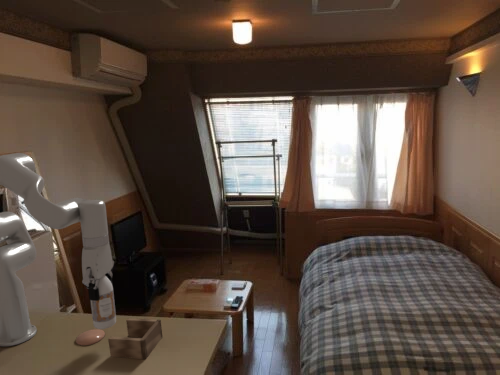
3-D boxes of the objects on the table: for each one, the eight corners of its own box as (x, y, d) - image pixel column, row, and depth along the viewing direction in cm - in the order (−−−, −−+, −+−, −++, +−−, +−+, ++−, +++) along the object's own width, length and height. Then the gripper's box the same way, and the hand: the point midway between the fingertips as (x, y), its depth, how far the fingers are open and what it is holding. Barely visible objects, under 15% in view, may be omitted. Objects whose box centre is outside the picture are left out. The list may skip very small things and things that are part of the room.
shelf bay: (110, 356, 127) (108, 338, 126) (130, 334, 139) (127, 318, 138) (145, 359, 124) (143, 340, 123) (162, 336, 136) (160, 319, 135)
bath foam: (96, 332, 128) (89, 271, 124) (91, 322, 133) (84, 264, 129) (119, 325, 132) (113, 265, 128) (113, 316, 137) (107, 259, 133)
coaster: (70, 344, 135) (70, 343, 135) (86, 330, 144) (86, 328, 143) (95, 346, 133) (95, 344, 133) (110, 331, 142) (109, 329, 142)
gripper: (100, 231, 136) (105, 282, 140) (67, 249, 119) (74, 306, 123) (121, 232, 135) (126, 283, 138) (90, 250, 118) (97, 308, 121)
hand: (101, 294), depth 130 cm, fingers closed on bath foam, 7 cm apart
